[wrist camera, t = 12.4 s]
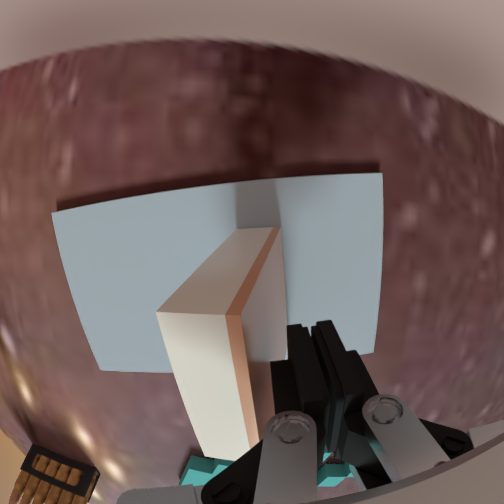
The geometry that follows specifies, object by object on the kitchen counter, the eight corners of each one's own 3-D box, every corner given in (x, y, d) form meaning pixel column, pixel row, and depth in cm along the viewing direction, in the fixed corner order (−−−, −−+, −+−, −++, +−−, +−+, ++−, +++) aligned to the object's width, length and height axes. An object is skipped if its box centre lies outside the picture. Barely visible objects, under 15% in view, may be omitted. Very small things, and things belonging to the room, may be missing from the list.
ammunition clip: (37, 450, 26) (7, 508, 14) (32, 443, 25) (0, 502, 14) (100, 474, 26) (76, 544, 15) (96, 467, 26) (70, 540, 14)
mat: (378, 172, 16) (382, 173, 15) (370, 347, 19) (373, 352, 19) (56, 211, 16) (51, 213, 16) (103, 365, 20) (100, 370, 19)
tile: (280, 226, 16) (240, 315, 7) (288, 339, 18) (263, 463, 9) (236, 229, 16) (155, 311, 8) (249, 338, 18) (204, 456, 10)
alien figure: (396, 438, 24) (208, 414, 22) (403, 453, 22) (205, 433, 20) (310, 512, 30) (172, 494, 28) (312, 523, 28) (169, 508, 25)
